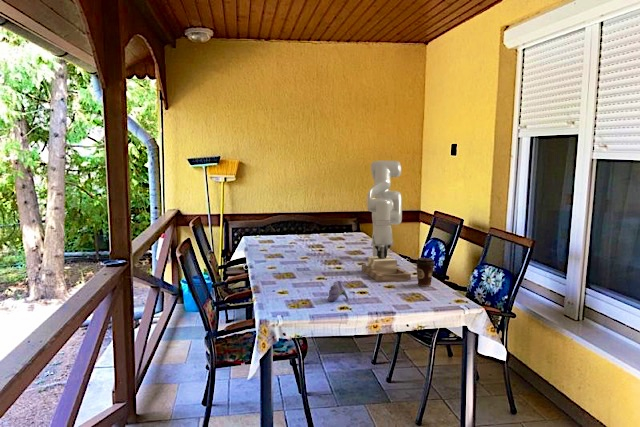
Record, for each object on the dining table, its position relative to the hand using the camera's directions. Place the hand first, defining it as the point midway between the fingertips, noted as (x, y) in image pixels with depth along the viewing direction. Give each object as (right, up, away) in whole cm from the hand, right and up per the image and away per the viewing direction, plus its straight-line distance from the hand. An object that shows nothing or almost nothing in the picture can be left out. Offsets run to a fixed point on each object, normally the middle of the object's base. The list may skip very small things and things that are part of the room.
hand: (382, 257), depth 259 cm
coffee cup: (+17, -12, -23) cm, 31 cm away
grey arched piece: (-26, -14, -49) cm, 57 cm away
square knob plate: (0, -8, +1) cm, 8 cm away
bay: (+1, -9, -4) cm, 10 cm away
